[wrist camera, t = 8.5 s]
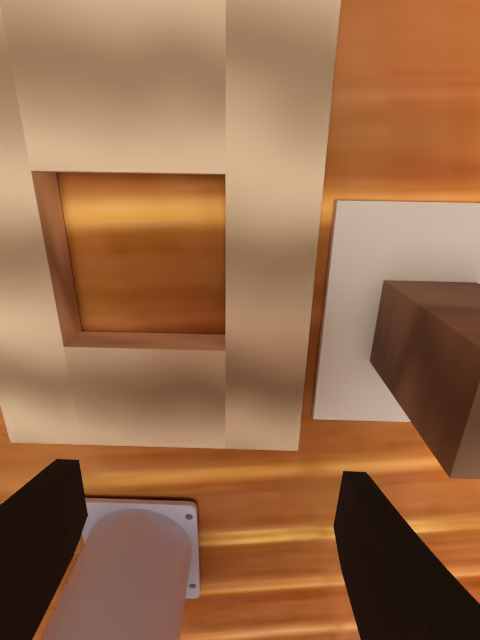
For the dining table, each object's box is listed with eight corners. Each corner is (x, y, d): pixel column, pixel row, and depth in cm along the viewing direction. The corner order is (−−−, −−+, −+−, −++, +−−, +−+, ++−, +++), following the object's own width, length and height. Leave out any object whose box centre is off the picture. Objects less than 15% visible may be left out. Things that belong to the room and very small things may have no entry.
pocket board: (293, 427, 21) (298, 451, 19) (31, 419, 21) (10, 442, 19) (329, 12, 14) (342, -15, 12) (-68, 9, 14) (-117, -18, 12)
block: (453, 363, 19) (590, 482, 11) (369, 361, 19) (449, 478, 11) (476, 282, 17) (654, 357, 10) (383, 280, 17) (488, 353, 10)
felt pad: (482, 418, 20) (487, 423, 20) (311, 414, 21) (313, 419, 20) (551, 203, 16) (560, 204, 16) (334, 200, 16) (337, 200, 16)
